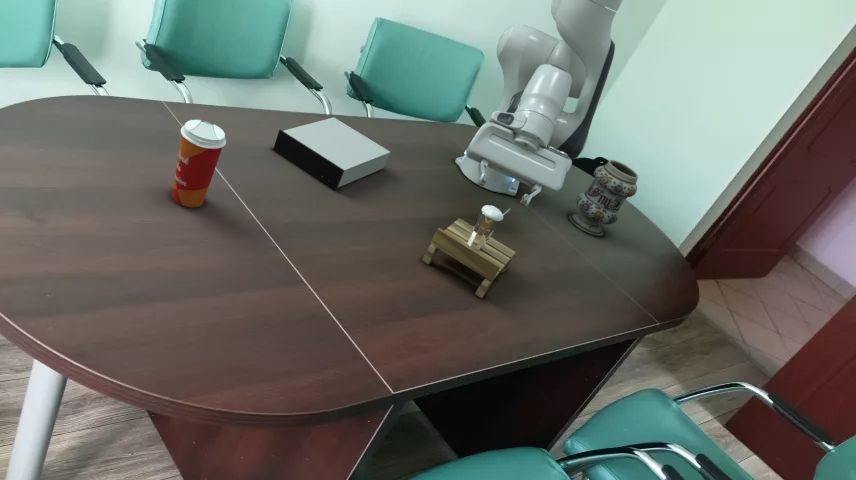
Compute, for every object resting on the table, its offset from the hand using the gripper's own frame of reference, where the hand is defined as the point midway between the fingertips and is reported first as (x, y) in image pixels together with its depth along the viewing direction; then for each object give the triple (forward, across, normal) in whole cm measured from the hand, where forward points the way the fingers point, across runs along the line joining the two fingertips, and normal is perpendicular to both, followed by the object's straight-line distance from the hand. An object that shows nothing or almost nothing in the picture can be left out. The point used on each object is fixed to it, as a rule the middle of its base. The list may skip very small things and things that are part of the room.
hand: (502, 194), depth 133 cm
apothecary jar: (-22, -30, -45) cm, 58 cm away
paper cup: (+30, +52, +7) cm, 61 cm away
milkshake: (+10, 0, -5) cm, 12 cm away
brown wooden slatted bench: (+14, 0, -9) cm, 16 cm away
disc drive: (+1, +36, -22) cm, 43 cm away
